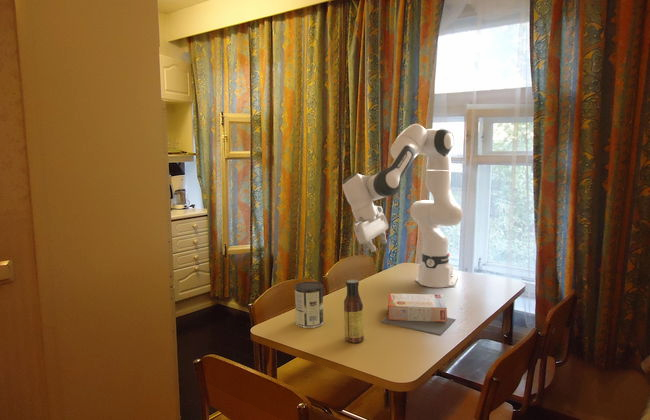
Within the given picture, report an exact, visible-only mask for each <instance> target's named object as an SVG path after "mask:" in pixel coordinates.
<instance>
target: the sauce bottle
mask: <svg viewBox="0 0 650 420" xmlns="http://www.w3.org/2000/svg"><path fill="white" fill-rule="evenodd" d="M359 282H360V281H359V280H357V279H348V280H346V281H345V285H346V297H345V298H344V301H343V308H344V309H343V318H344V335H345V340H346V341H347V342H349V343H354V344H357V343H361V342H363V341H364V337H365V324H364V305H363V302H362V299H361V296H360V293H359Z"/></svg>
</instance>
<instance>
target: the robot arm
mask: <svg viewBox="0 0 650 420" xmlns="http://www.w3.org/2000/svg"><path fill="white" fill-rule="evenodd" d="M454 141H455V139H454V135H453V132H451V130H449V129H446V128H428V129H426V128H425V127H424V126H422V125H421V124H419V123H413V124H411V125H409V126H408V127H406V128H405V129H404V130H402V132H401V133H400V134H399V135H398V136H397V137H396V138H395V140H394V141H393V142H392V145H391V147H390V154H391V155H390V156H391V157H392V159H393V161H392V163H391V164H390V166H389V167H388V168H387V167H386V168H385V169H383V170H381V171H379V172H378V173H377V172H376V174H373V175H362V174H359V173H358V172H357V173H353V174H352V175H350V176H348V177H347V178H345V179H344V180H343V181H342V189H343V193H344V197H345V198H346V200H347V203H348V204H349V205H350V207H351V212H352V214H353V217H354V219H355V220H354V223H353V226H354V227H353V231H354V234H355V238H356V240H357V242H358V243H359V245H364V244H365V245H366V246H367V247H368V248H369V249H370V252H371V253H375V252H376V251H377V250H378V248H377V247H376V245H374V243H373V240H374V239H375V238H377V237H378V236H379V237H380V239H381V240H380V243H381V244H382V245H386V244H388V240H387V236H386V235H387V233H386V231H387V230H389V223H388V219H387V218H386V216H385V214H384V210H383V207H382V206H379V205H375V204H374V202H373V201H377V200H380V199H385V198H387V197H392V196H395V195H396V194H398V192H399V191H400V189H401V185H402V182H403V178H404V176H405V174H406V173H407V171H408V169H409V167H410V166H411V165H412V163H413V162H414V159H415V158H416V157H417V156H418V155H425V156H426V155H427V159H426V160H427V161H426V167H425V182H424V183H425V184H424V186H425V189H426V190H427V191H428V192H430V193H431V195H432V197H433V200H431V199H429V200H427V199H423V200H421V199H420V200H417V201H415V202H413V204H412V205H411V207H410V216H411V219H413V220H414V222H415V223H416V224H417V226H418V228H419V230H420V233H421V237H422V253H421V262H420V263H419V265H418V275H417V277H416V278H414V280H415V282H417V283H418V284H419V285H421V286H425V287H428V288H446V287H447V288H448V287H455V286H456V284H457V282H458V276H457V275H454V269H453V266H452V264H450V262H449V261H450V260H449V258H450V253H449V252H448V237H447V235H446V234H444V233H443V231H442V230H441V229H440V226H443V227H451V226H452V227H453V226H457V225H459V224H460V223H461V222H462V220H463V209H462V207H461V205H459V204H458V203H457V202H456V200H455V198H454V196H453V193H452V190H451V175H452V171H451V170H452V159H451V150H452V149H453V147H454V144H455V142H454Z"/></svg>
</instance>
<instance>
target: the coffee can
mask: <svg viewBox="0 0 650 420" xmlns="http://www.w3.org/2000/svg"><path fill="white" fill-rule="evenodd" d="M323 290H324V284H323V283H322V282H319V281H318V282H317V281H302V282H299V283H298V282H297V283H296V284H295V285H294V297H295V298H294V299H295V300H294V302H295V303H294V304H295V325H296V326H297V325H298V326H297V327H299V326H300V327H299V328H302V327H303V329H314V328H315V329H316V328H319V327H321V326H323V324H324V323H325V321H324V297H323V296H324V293H323Z"/></svg>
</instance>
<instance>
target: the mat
mask: <svg viewBox="0 0 650 420" xmlns="http://www.w3.org/2000/svg"><path fill="white" fill-rule="evenodd" d="M455 321H456V318H452V317H448V316H447V321H446V322H427V321H401V320H388V316H387V317H385V318H384V319H382V320H381V321H380V323H383V324H386V325H387V324H388V325H391V326H392V325H393V326H395V327H396V326H398V327H401V328H405V329H411V330H414V331H419V332H424V333H428V334H432V335H436V336H442V335H443V334H444V332H445V331H447V330H448V329H449V327H450V326H451V325H452V324H453V323H454V322H455Z"/></svg>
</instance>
